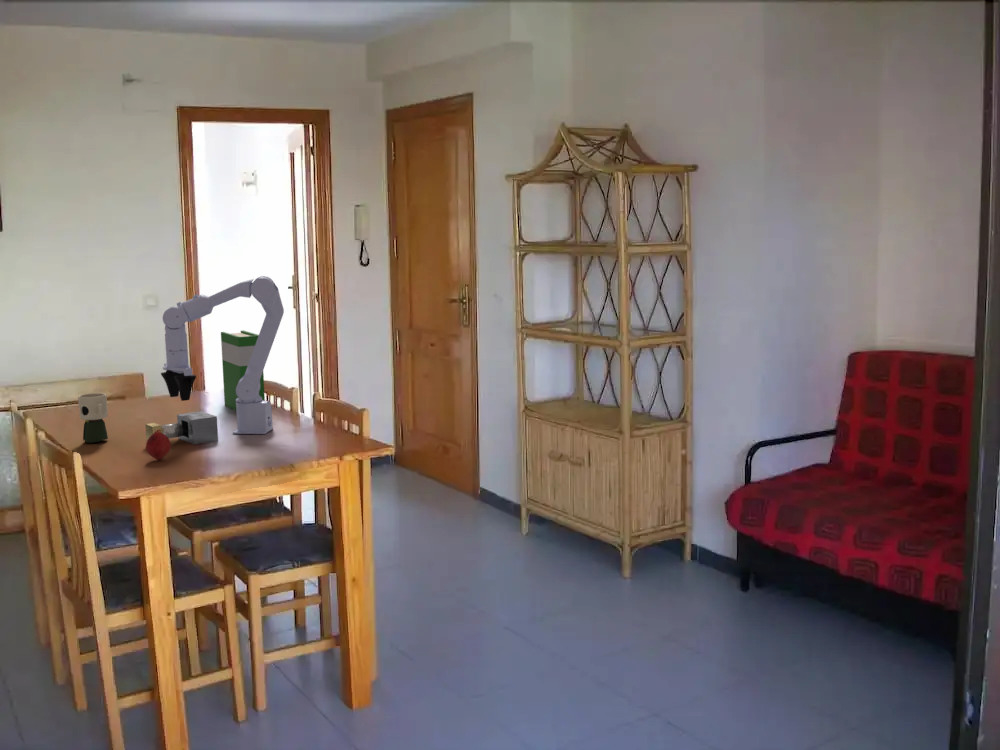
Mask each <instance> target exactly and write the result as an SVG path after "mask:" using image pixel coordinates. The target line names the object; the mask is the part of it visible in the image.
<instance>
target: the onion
mask: <svg viewBox="0 0 1000 750" xmlns="http://www.w3.org/2000/svg"><path fill="white" fill-rule="evenodd" d="M171 447H172V444H171V441H170V438H169V439H168V437H167V436H166V435H164V434H163V433H161V430H160V429H157V430H156V431H155V432H154V434H152V435H151V436H150V437H149V439H148V440H147V441H146V443H145V448H146V449H145V450H146V452H147V454H149V456H150V457H152V458H153V459H155V460H156V461H162V460H163V459H164V458H165V457H166V456H167V455H169V453H170V451H171ZM161 459H162V460H161Z"/></svg>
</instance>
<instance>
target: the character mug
mask: <svg viewBox="0 0 1000 750" xmlns="http://www.w3.org/2000/svg"><path fill="white" fill-rule="evenodd" d="M77 398H78V403H77V404H78V409H79V413H78V414H79V419H80V420H83V421H84V424H83V431H82V432H83V434H82V442H84V443H97V444H98V443H99V442H101V441H104V440H105V441H106V440H108V439H109V436H108V431H107V427H106V423H105V420H104V419H105V418H107V417H108V416H109V414H108V413H109V411H108V399H107V394H106V393H104V392H93V393H92V392H91V393H83V394H80V395H79V394H78V396H77Z"/></svg>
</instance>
